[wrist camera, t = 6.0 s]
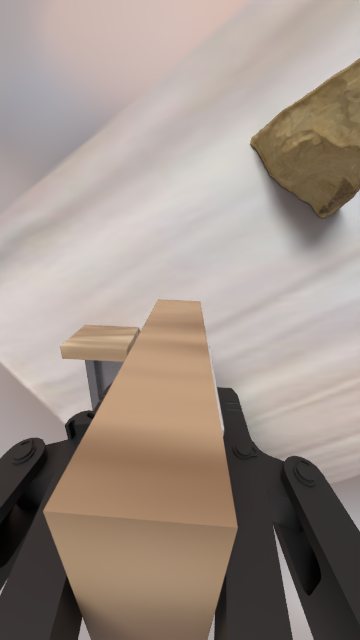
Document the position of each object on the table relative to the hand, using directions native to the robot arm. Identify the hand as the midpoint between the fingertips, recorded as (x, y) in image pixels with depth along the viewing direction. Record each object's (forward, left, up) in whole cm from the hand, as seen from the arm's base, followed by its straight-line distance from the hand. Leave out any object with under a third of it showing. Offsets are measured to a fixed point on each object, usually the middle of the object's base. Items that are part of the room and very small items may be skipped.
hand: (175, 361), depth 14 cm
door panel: (0, 0, -2) cm, 2 cm away
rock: (-15, +12, -13) cm, 23 cm away
